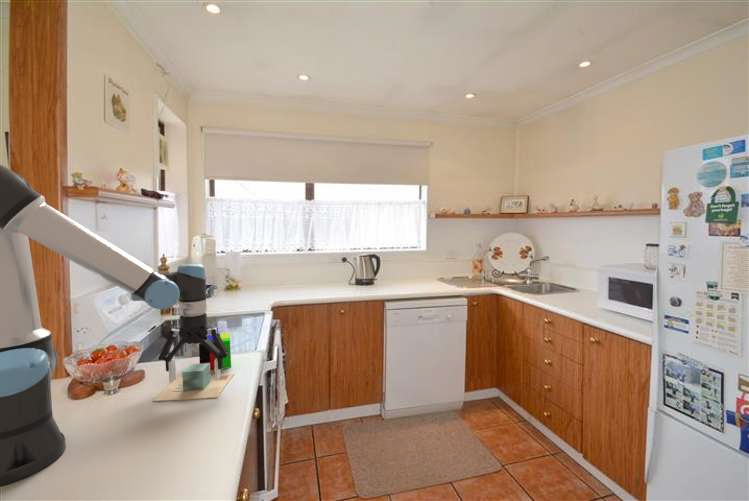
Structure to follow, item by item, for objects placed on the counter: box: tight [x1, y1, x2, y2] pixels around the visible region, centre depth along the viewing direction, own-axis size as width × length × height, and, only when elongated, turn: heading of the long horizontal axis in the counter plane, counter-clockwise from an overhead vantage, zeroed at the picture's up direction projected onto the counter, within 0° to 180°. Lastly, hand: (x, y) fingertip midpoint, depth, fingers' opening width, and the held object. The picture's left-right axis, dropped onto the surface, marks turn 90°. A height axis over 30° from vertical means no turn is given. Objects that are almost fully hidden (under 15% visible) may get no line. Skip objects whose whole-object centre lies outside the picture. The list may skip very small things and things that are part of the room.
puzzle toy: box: [198, 332, 232, 371], centre depth 124 cm, size 10×10×10 cm
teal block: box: [181, 363, 211, 391], centre depth 107 cm, size 6×6×6 cm
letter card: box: [152, 373, 235, 403], centre depth 107 cm, size 18×16×1 cm
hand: (195, 379), depth 107 cm, fingers open, 13 cm apart
